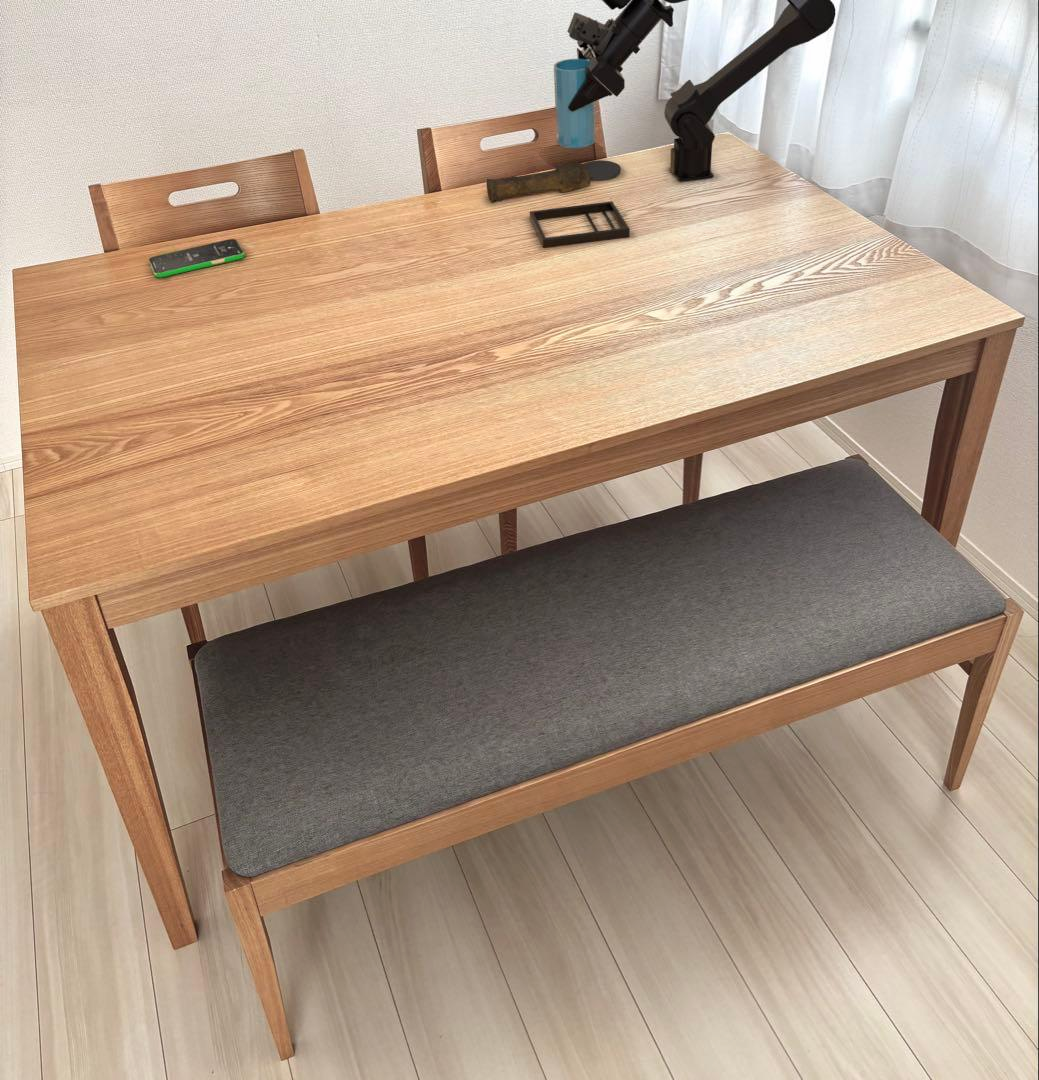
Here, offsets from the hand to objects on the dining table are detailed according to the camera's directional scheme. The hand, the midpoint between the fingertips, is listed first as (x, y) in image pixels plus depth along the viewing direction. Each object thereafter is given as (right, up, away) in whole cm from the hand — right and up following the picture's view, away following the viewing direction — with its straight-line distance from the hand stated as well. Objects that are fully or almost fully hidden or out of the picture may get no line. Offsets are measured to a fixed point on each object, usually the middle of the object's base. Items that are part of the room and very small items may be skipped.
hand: (567, 102), depth 183 cm
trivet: (+7, -8, +13) cm, 16 cm away
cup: (+2, -5, +4) cm, 7 cm away
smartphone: (-62, -30, -7) cm, 69 cm away
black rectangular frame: (+2, -23, -5) cm, 24 cm away
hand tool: (-5, -13, +7) cm, 16 cm away
